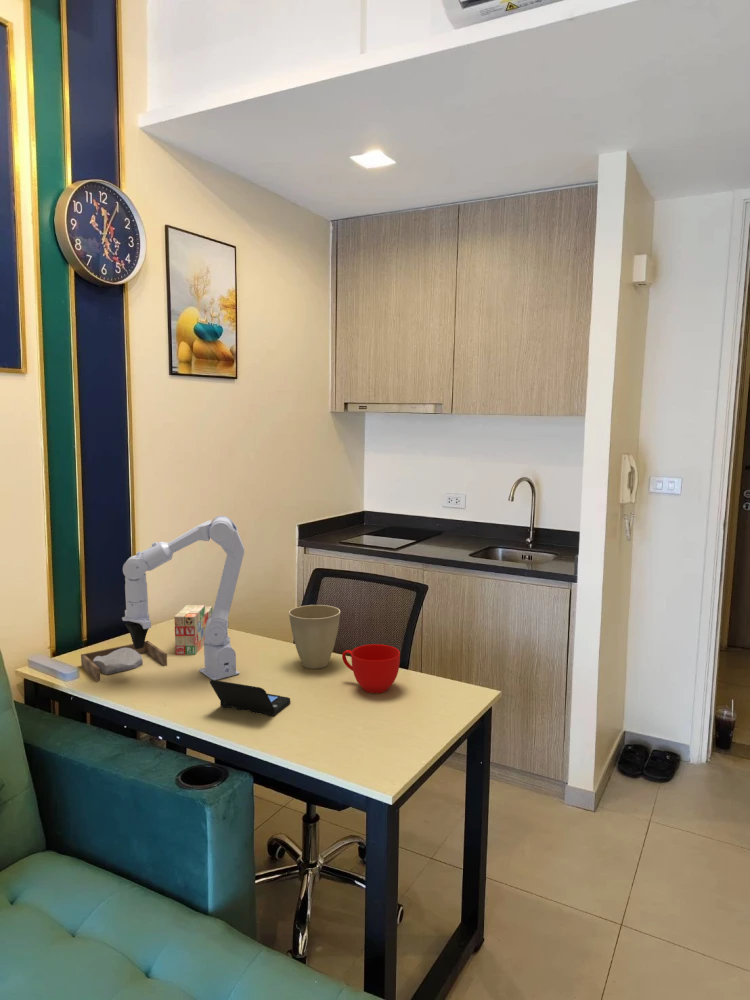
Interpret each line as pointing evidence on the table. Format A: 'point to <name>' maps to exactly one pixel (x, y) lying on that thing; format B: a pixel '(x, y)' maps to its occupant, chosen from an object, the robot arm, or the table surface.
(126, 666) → the stone block
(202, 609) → the stack of blocks
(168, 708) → the table surface
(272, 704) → the game console
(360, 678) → the ceramic cup
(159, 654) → the box
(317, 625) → the plant pot
